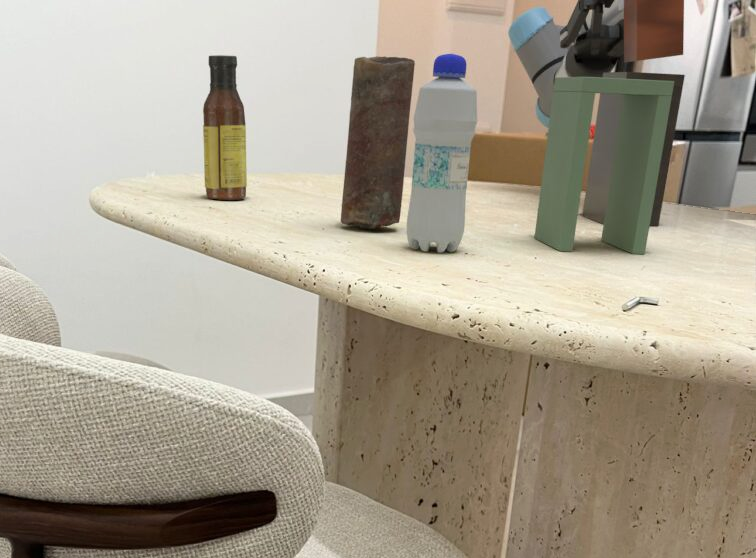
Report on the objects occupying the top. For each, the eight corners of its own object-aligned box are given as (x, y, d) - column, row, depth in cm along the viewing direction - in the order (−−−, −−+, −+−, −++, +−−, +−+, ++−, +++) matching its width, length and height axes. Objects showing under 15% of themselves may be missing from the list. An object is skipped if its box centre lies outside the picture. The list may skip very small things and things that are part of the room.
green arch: (612, 240, 117) (637, 81, 111) (644, 254, 108) (674, 81, 102) (534, 238, 117) (554, 77, 110) (559, 251, 107) (584, 76, 101)
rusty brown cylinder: (411, 229, 119) (425, 57, 112) (383, 235, 113) (397, 54, 106) (358, 222, 123) (369, 56, 115) (329, 227, 117) (338, 52, 110)
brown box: (651, 59, 142) (652, -21, 138) (683, 54, 125) (684, -36, 122) (610, 64, 143) (609, -15, 139) (636, 60, 126) (636, -29, 123)
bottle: (448, 256, 100) (469, 52, 93) (392, 249, 103) (407, 51, 96) (473, 250, 105) (494, 56, 98) (418, 242, 109) (435, 54, 101)
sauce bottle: (251, 198, 144) (254, 57, 137) (239, 202, 138) (241, 55, 131) (210, 195, 145) (211, 55, 138) (196, 199, 139) (197, 53, 132)
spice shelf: (633, 217, 142) (657, 75, 135) (658, 226, 134) (685, 74, 127) (582, 215, 142) (603, 72, 134) (603, 224, 133) (627, 71, 126)
